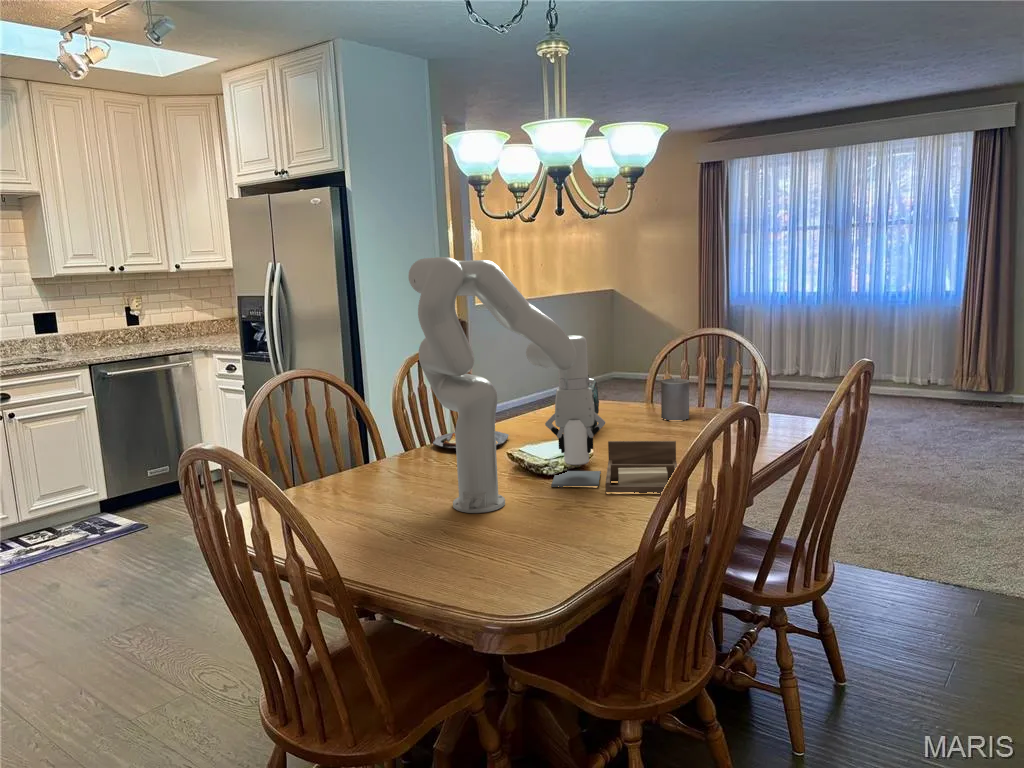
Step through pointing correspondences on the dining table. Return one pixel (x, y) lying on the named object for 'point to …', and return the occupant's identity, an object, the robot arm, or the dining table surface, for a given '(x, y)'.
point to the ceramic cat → (595, 399)
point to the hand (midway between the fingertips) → (576, 451)
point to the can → (575, 443)
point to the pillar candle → (675, 399)
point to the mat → (577, 478)
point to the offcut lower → (641, 484)
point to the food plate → (450, 441)
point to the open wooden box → (639, 461)
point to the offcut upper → (643, 475)
